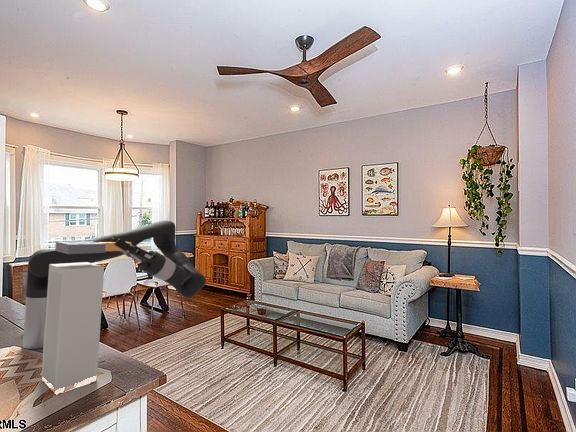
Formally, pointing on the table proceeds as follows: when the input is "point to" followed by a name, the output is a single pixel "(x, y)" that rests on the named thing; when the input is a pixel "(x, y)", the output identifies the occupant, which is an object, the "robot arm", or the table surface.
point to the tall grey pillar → (72, 323)
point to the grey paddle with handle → (86, 247)
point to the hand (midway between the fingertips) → (114, 241)
